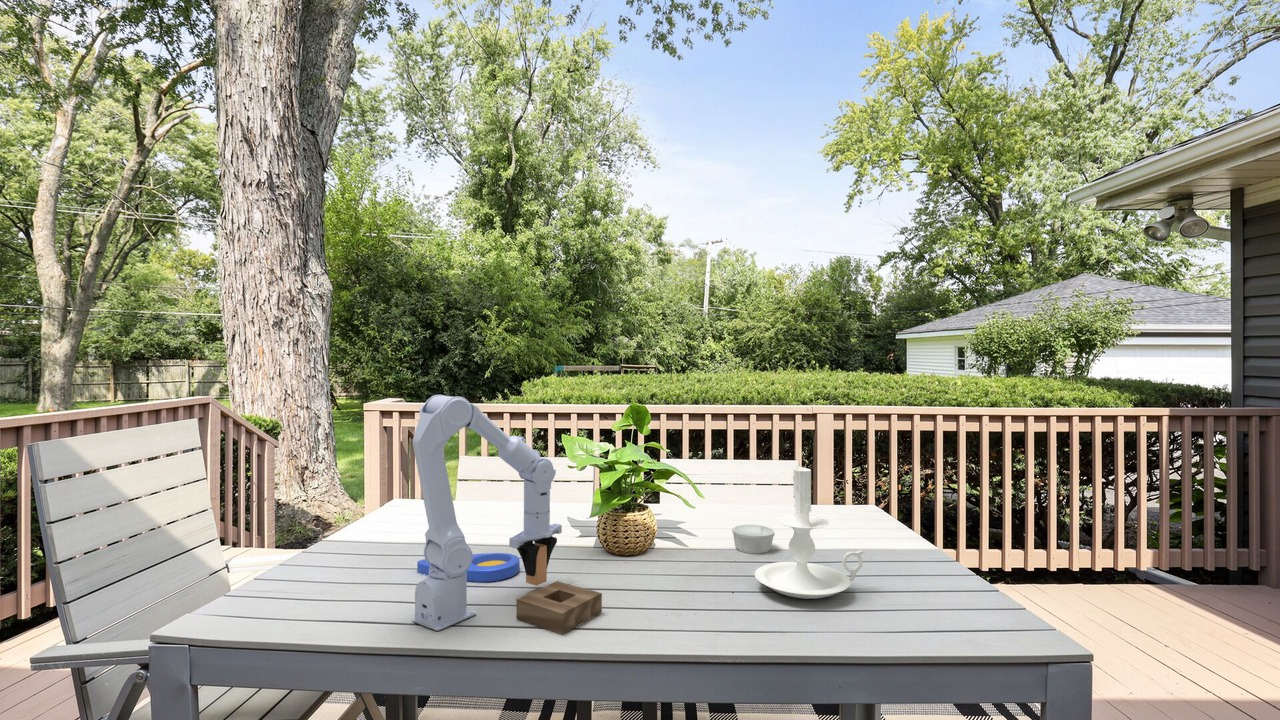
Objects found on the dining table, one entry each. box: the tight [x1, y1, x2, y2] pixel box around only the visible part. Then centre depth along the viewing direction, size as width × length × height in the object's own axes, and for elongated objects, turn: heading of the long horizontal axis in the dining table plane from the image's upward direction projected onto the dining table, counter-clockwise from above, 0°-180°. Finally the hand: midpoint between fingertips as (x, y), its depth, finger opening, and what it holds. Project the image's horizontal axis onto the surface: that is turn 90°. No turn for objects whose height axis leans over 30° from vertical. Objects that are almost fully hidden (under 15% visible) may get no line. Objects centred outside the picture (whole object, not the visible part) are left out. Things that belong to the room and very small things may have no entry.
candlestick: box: [754, 465, 865, 600], centre depth 136 cm, size 21×25×28 cm
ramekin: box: [731, 524, 775, 555], centre depth 167 cm, size 11×11×5 cm
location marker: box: [416, 552, 521, 583], centre depth 148 cm, size 13×3×25 cm
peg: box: [525, 543, 548, 587], centre depth 135 cm, size 3×3×8 cm
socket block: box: [515, 580, 603, 635], centre depth 122 cm, size 12×12×4 cm
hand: (536, 572), depth 135 cm, fingers closed on peg, 3 cm apart
